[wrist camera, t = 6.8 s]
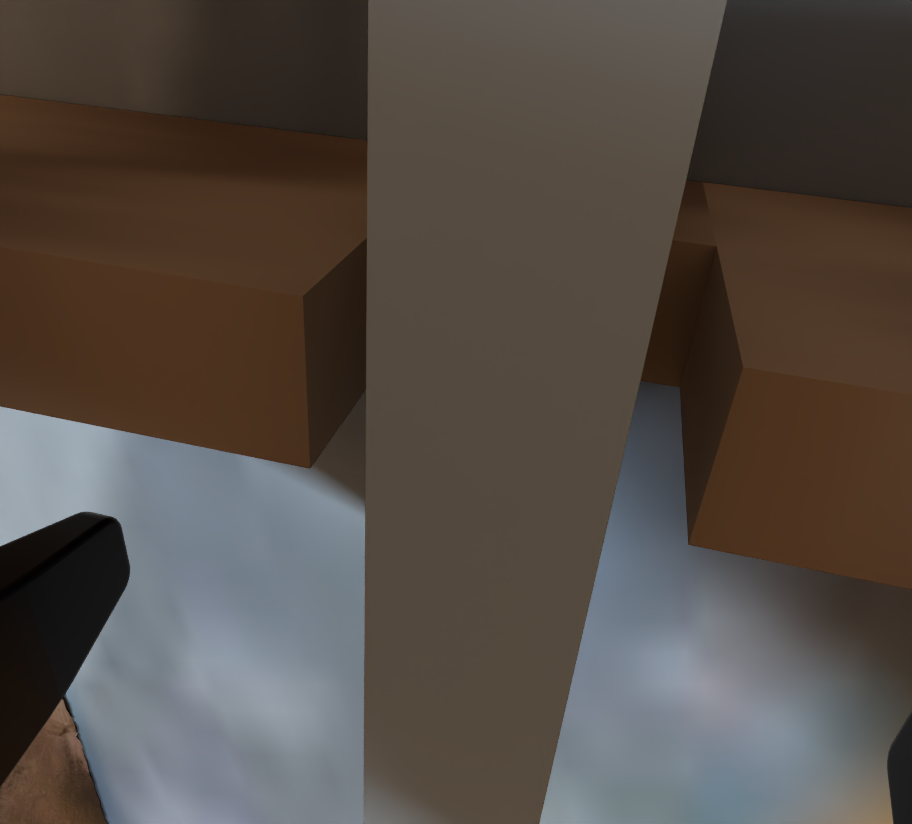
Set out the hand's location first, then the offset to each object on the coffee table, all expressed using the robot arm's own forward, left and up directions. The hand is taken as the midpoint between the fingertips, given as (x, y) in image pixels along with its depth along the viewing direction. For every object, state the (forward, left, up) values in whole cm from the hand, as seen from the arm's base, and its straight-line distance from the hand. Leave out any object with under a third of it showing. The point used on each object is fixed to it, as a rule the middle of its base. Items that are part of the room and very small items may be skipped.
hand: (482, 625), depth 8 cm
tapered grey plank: (0, -3, -4) cm, 5 cm away
